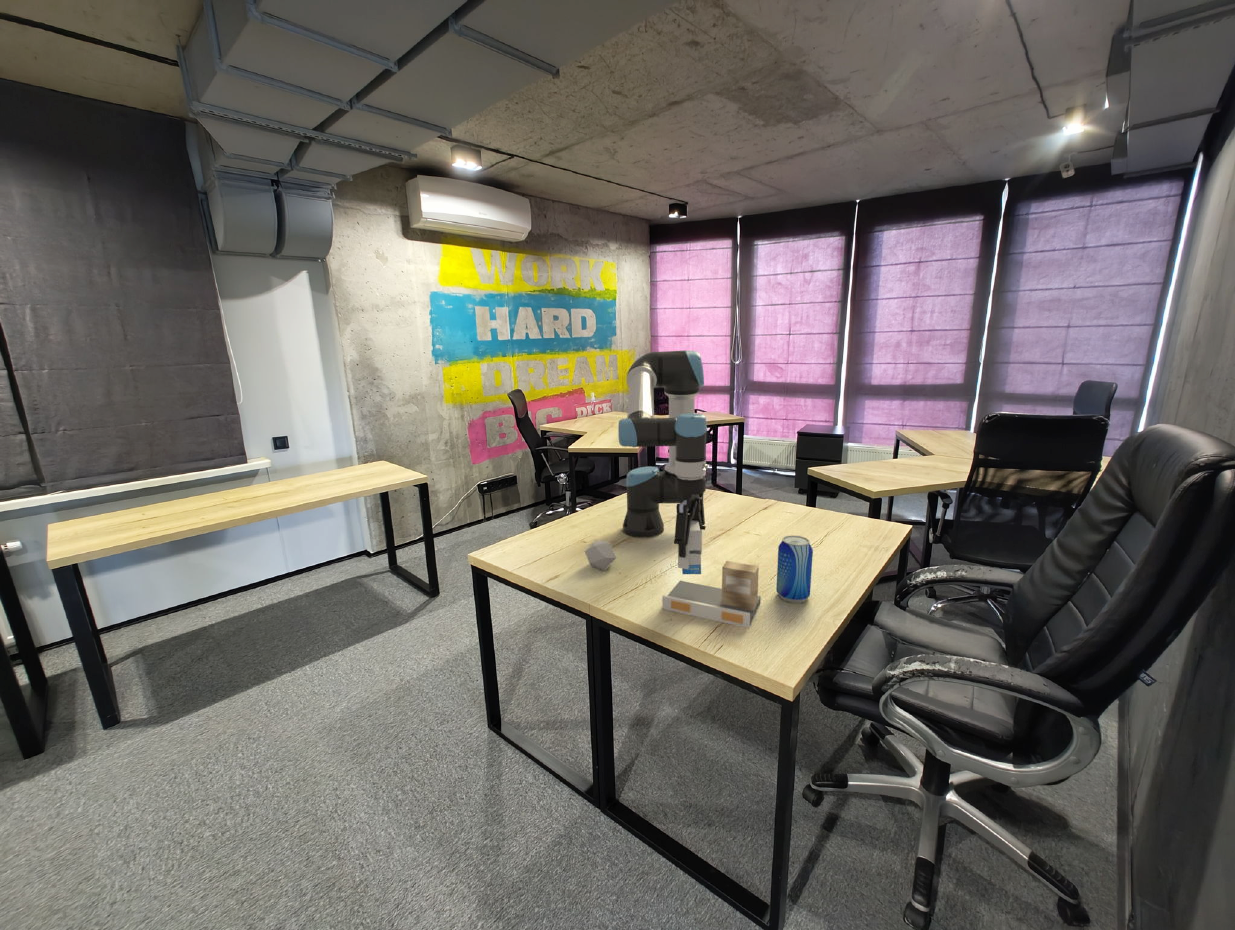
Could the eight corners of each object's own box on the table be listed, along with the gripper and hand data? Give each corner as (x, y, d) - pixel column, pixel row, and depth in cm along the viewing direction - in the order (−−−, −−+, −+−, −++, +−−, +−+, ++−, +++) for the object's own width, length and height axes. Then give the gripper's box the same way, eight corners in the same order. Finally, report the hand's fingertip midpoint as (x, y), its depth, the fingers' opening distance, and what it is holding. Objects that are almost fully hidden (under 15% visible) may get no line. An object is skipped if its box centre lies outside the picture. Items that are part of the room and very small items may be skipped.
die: (621, 567, 153) (613, 537, 157) (612, 564, 145) (604, 532, 149) (596, 575, 155) (589, 545, 159) (586, 573, 147) (578, 541, 150)
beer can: (771, 590, 135) (773, 535, 131) (801, 588, 135) (804, 533, 132) (783, 605, 126) (786, 547, 123) (815, 603, 127) (819, 545, 124)
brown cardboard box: (721, 604, 124) (722, 567, 122) (725, 596, 128) (726, 560, 125) (753, 610, 120) (755, 572, 118) (757, 603, 124) (758, 566, 122)
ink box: (701, 575, 124) (701, 531, 121) (680, 574, 124) (680, 530, 122) (699, 561, 132) (699, 519, 130) (680, 561, 133) (680, 519, 130)
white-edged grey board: (662, 609, 126) (661, 596, 126) (680, 587, 138) (680, 575, 137) (748, 628, 117) (749, 615, 116) (760, 603, 128) (760, 590, 127)
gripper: (690, 488, 112) (689, 580, 117) (717, 468, 131) (716, 547, 136) (659, 485, 115) (660, 574, 120) (690, 466, 134) (690, 543, 139)
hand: (690, 560), depth 128 cm, fingers closed on ink box, 9 cm apart
